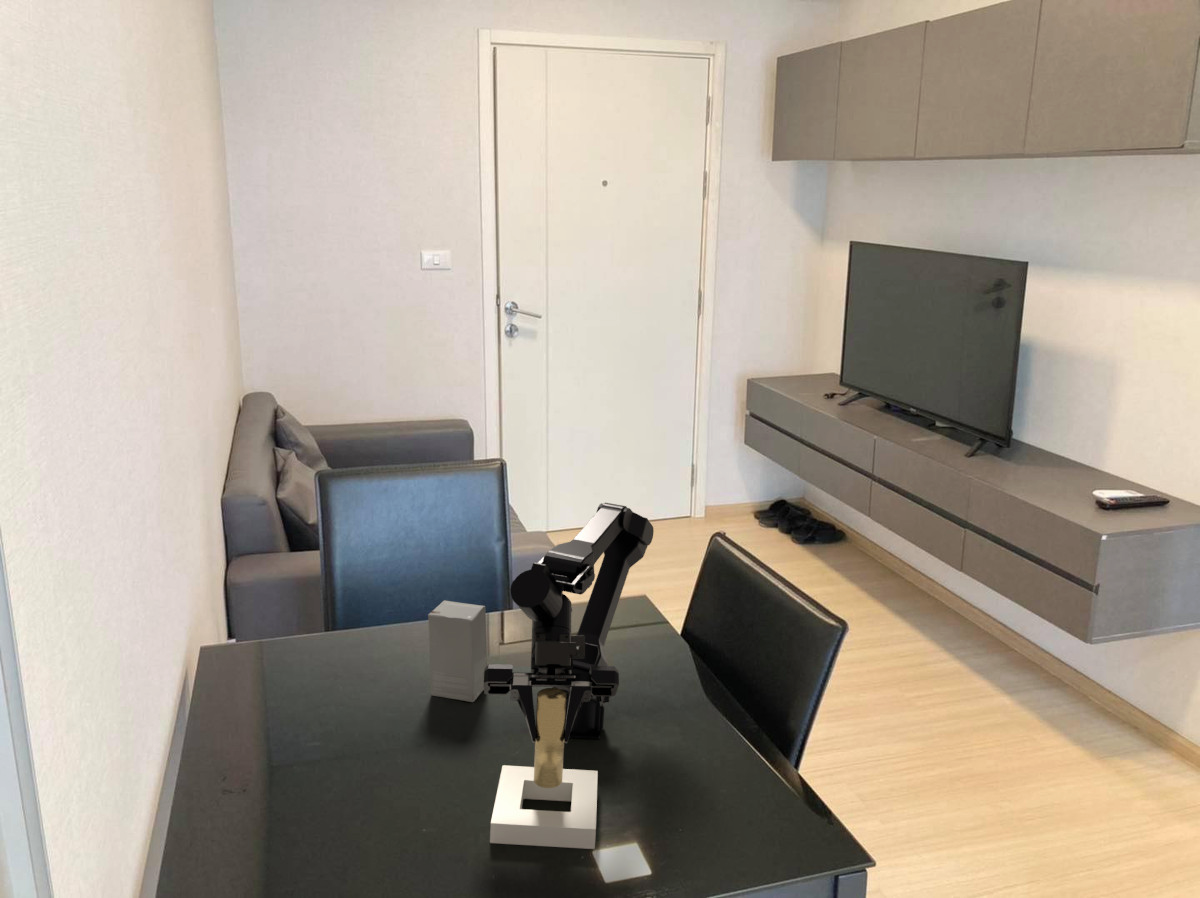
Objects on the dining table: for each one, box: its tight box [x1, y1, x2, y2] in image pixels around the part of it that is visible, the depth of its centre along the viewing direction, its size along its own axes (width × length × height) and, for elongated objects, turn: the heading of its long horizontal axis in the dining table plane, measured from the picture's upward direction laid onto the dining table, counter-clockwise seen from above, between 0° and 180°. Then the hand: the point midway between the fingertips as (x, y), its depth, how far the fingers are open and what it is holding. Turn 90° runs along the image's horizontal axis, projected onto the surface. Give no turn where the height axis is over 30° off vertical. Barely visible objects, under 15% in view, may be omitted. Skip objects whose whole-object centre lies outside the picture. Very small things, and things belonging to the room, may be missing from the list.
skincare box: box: [427, 600, 488, 703], centre depth 168 cm, size 8×7×16 cm
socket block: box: [489, 764, 599, 850], centre depth 136 cm, size 14×14×3 cm
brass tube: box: [533, 687, 567, 788], centre depth 134 cm, size 4×4×13 cm
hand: (550, 742), depth 133 cm, fingers closed on brass tube, 4 cm apart
